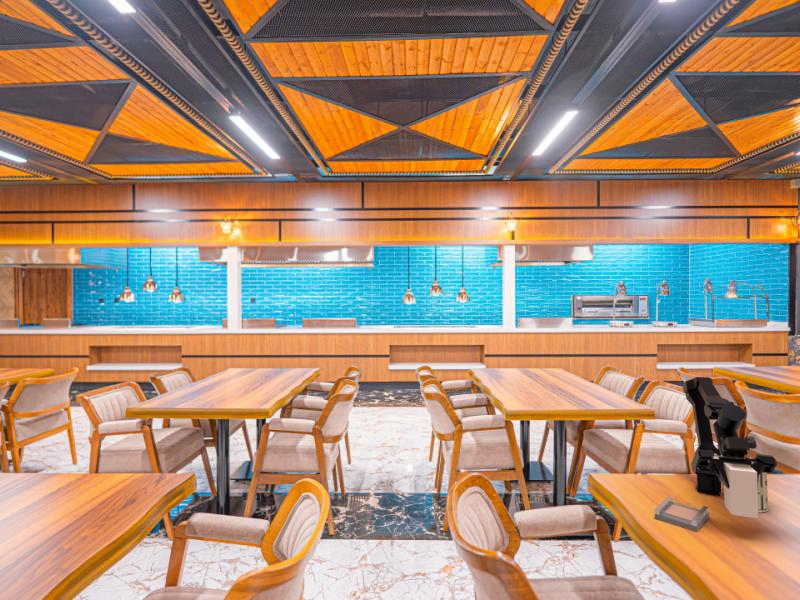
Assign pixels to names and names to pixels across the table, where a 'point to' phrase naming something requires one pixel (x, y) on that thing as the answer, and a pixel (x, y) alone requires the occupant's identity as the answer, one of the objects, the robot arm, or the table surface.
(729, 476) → the cream block
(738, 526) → the table surface
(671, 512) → the display base
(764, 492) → the coffee can
